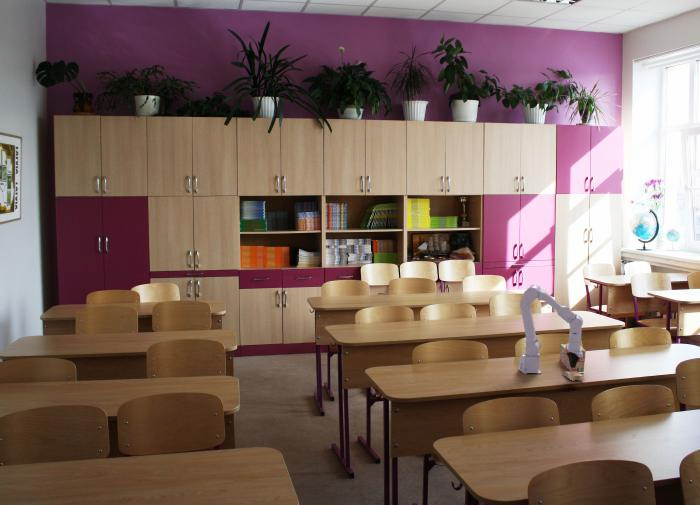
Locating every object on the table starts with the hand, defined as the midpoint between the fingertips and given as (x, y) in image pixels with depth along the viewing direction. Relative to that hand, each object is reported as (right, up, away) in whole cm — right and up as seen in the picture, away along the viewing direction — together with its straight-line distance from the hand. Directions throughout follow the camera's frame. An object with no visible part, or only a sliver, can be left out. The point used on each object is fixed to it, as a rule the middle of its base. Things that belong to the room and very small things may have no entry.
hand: (572, 367), depth 349 cm
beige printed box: (+5, -3, +19) cm, 20 cm away
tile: (0, -4, +2) cm, 4 cm away
